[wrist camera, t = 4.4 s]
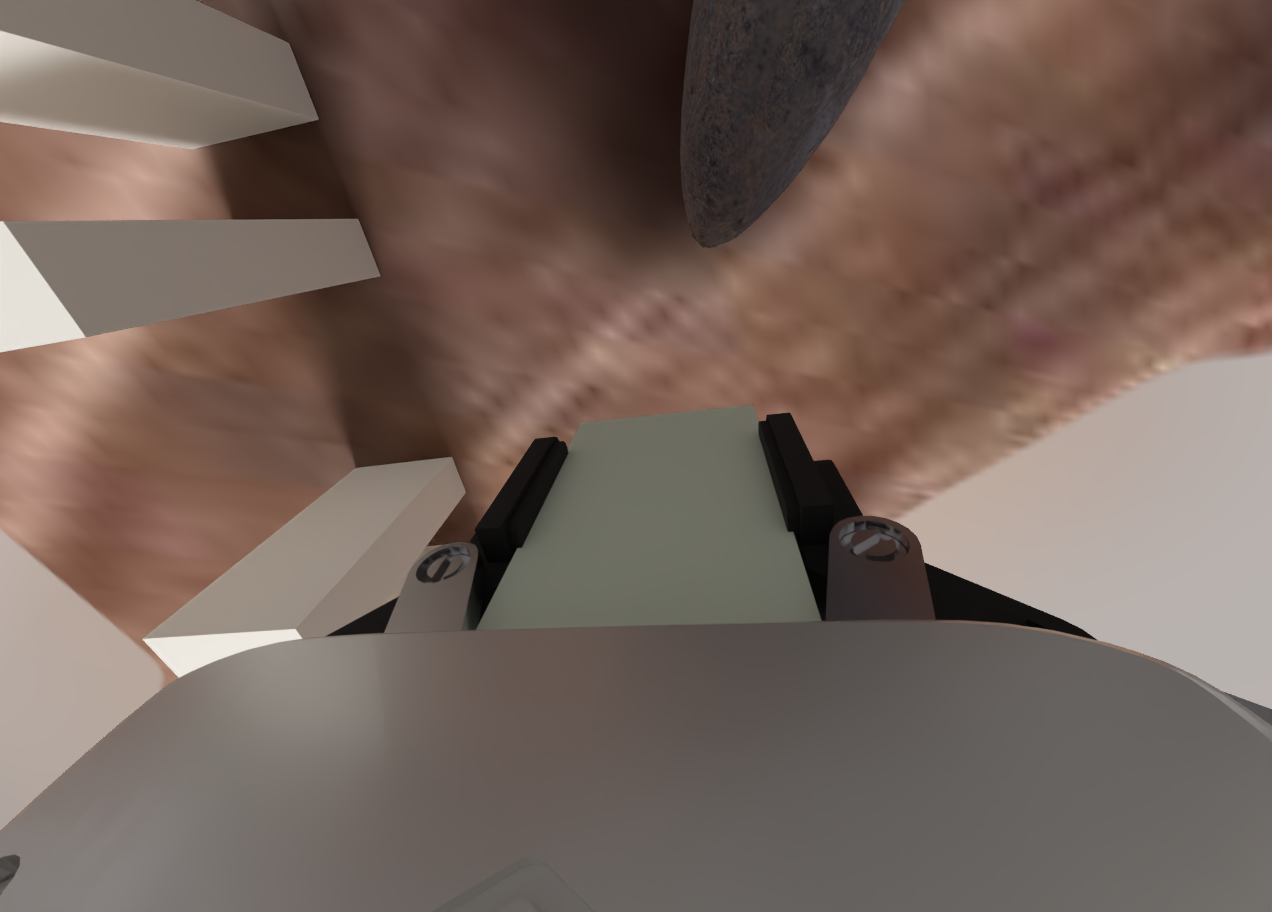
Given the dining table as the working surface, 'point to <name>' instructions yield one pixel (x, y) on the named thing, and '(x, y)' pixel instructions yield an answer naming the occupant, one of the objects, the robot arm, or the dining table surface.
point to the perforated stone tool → (765, 98)
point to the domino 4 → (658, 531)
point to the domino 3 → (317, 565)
